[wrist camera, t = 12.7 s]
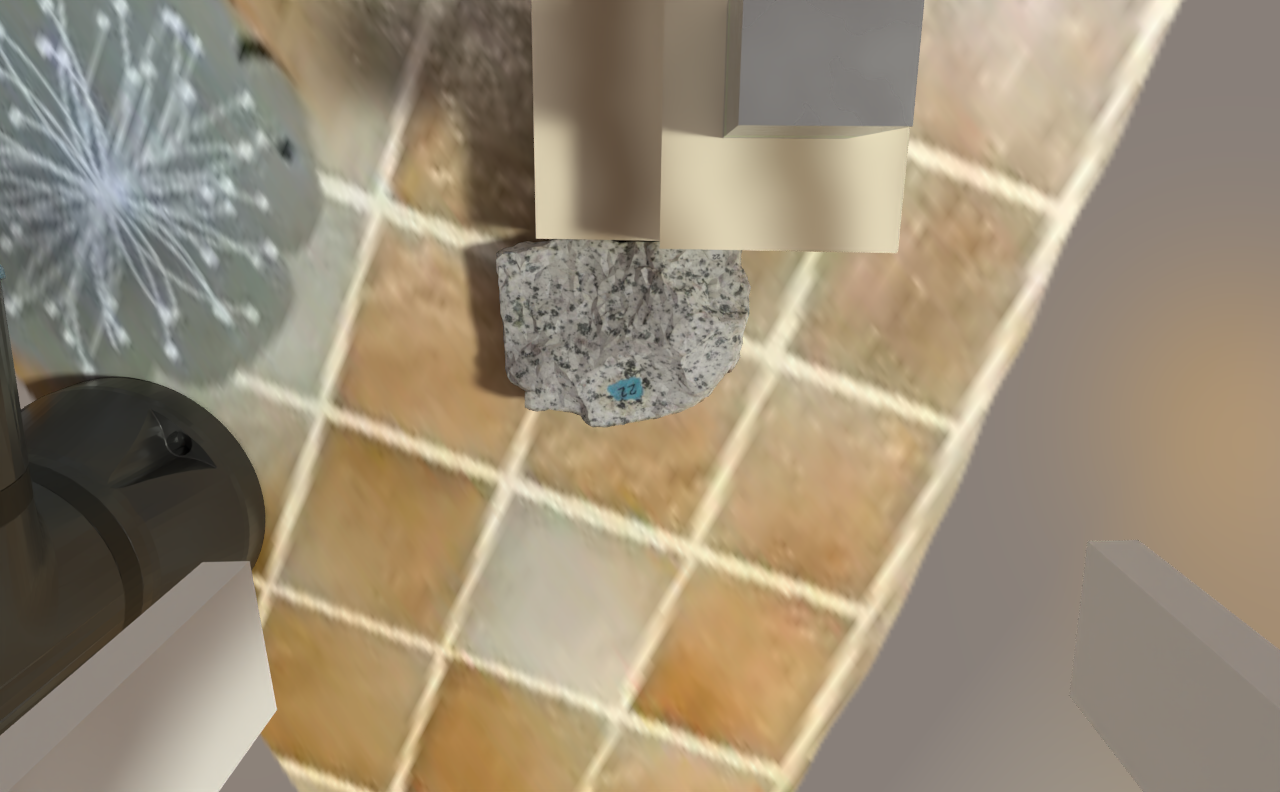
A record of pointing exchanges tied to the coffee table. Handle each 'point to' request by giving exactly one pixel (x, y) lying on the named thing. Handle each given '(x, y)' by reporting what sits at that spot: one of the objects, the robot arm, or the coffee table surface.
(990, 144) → the coffee table surface
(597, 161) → the stand
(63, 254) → the coffee table surface
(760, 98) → the column
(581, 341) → the rock
